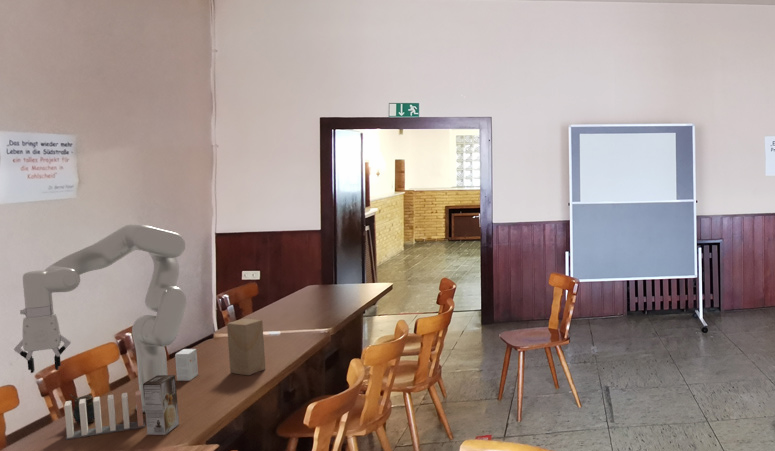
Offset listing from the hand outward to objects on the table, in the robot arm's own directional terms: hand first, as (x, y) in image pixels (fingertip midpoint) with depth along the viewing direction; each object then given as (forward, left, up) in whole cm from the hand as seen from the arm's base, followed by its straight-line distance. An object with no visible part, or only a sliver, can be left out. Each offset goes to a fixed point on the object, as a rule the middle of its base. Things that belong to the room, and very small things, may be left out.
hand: (44, 369), depth 219 cm
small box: (-49, +44, -22) cm, 69 cm away
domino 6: (0, +26, -21) cm, 34 cm away
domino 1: (0, +6, -21) cm, 22 cm away
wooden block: (-46, +67, -22) cm, 84 cm away
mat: (0, +16, -22) cm, 27 cm away
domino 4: (0, +18, -21) cm, 28 cm away
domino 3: (0, +14, -21) cm, 25 cm away
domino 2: (0, +10, -21) cm, 23 cm away
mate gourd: (-12, +9, -22) cm, 27 cm away
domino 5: (0, +22, -21) cm, 31 cm away
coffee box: (+8, +33, -22) cm, 40 cm away
